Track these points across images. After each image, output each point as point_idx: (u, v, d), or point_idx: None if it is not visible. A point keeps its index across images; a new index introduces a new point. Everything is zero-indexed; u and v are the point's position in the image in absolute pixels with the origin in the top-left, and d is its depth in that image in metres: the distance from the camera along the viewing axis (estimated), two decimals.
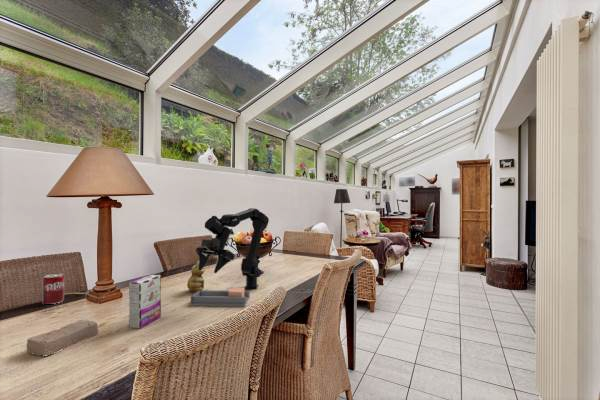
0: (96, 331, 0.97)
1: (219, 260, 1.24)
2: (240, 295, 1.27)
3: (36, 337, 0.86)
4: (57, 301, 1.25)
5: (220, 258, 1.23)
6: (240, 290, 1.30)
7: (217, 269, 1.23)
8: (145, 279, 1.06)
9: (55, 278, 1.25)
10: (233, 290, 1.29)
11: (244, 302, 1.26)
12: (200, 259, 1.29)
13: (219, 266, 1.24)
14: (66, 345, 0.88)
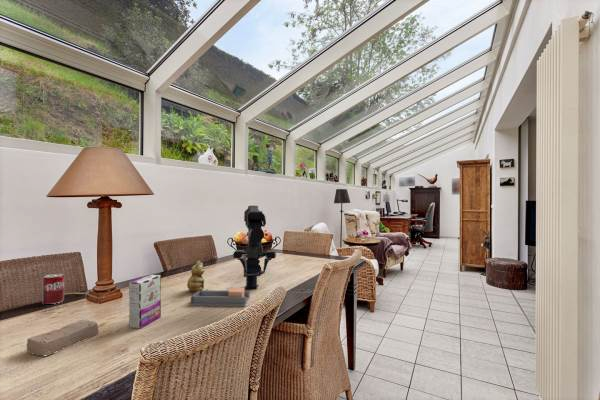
0: (96, 331, 0.97)
1: (266, 262, 1.29)
2: (240, 295, 1.27)
3: (36, 336, 0.87)
4: (57, 301, 1.25)
5: (267, 261, 1.28)
6: (240, 290, 1.30)
7: (265, 269, 1.30)
8: (145, 279, 1.06)
9: (55, 278, 1.25)
10: (233, 290, 1.29)
11: (244, 302, 1.26)
12: (243, 263, 1.29)
13: (266, 266, 1.30)
14: (66, 345, 0.88)
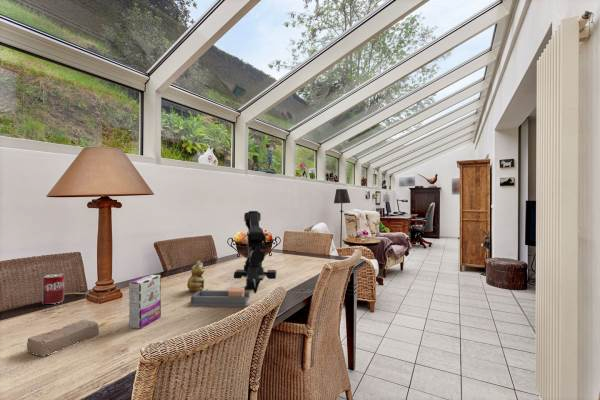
0: (97, 332, 0.97)
1: (257, 282, 1.29)
2: (240, 295, 1.27)
3: (36, 336, 0.87)
4: (57, 301, 1.25)
5: (259, 281, 1.28)
6: (240, 290, 1.30)
7: None
8: (145, 279, 1.06)
9: (55, 278, 1.25)
10: (233, 290, 1.29)
11: (244, 302, 1.26)
12: (252, 284, 1.29)
13: None
14: (65, 345, 0.88)
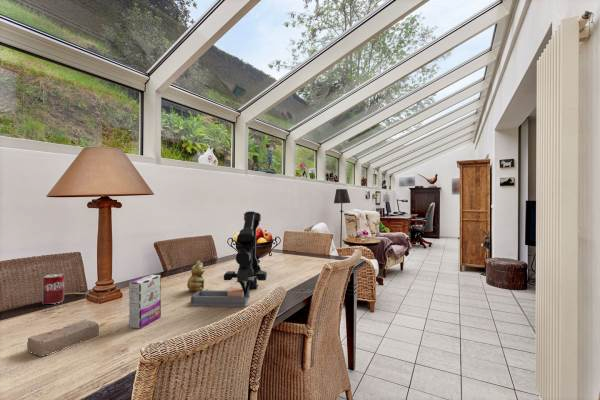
0: (97, 332, 0.97)
1: (248, 284, 1.29)
2: (239, 295, 1.27)
3: (37, 336, 0.87)
4: (57, 301, 1.25)
5: (249, 283, 1.28)
6: (239, 290, 1.30)
7: (247, 291, 1.30)
8: (145, 279, 1.06)
9: (55, 278, 1.25)
10: (232, 290, 1.29)
11: (244, 302, 1.26)
12: (242, 285, 1.29)
13: (248, 288, 1.30)
14: (64, 346, 0.88)
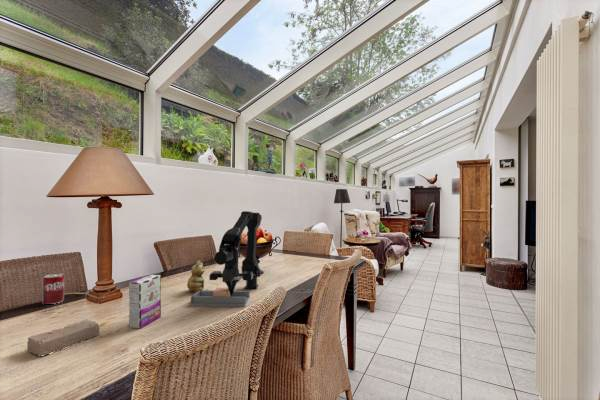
0: (97, 332, 0.96)
1: (233, 284, 1.29)
2: (225, 295, 1.27)
3: (37, 335, 0.87)
4: (57, 301, 1.25)
5: (234, 282, 1.28)
6: (225, 290, 1.30)
7: (233, 291, 1.31)
8: (145, 279, 1.06)
9: (55, 278, 1.25)
10: (218, 290, 1.29)
11: (244, 302, 1.26)
12: (228, 285, 1.29)
13: (234, 287, 1.30)
14: (63, 346, 0.88)
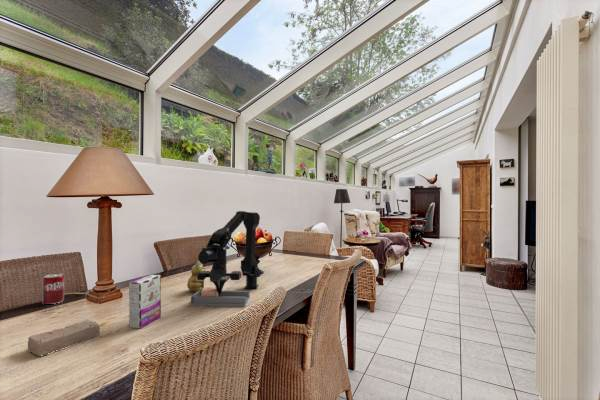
0: (97, 333, 0.96)
1: (221, 284, 1.29)
2: (213, 295, 1.28)
3: (37, 335, 0.88)
4: (57, 301, 1.25)
5: (222, 282, 1.28)
6: (213, 290, 1.30)
7: (221, 290, 1.31)
8: (145, 279, 1.06)
9: (55, 278, 1.25)
10: (206, 290, 1.29)
11: (244, 302, 1.26)
12: (216, 285, 1.29)
13: (222, 287, 1.30)
14: (63, 346, 0.88)
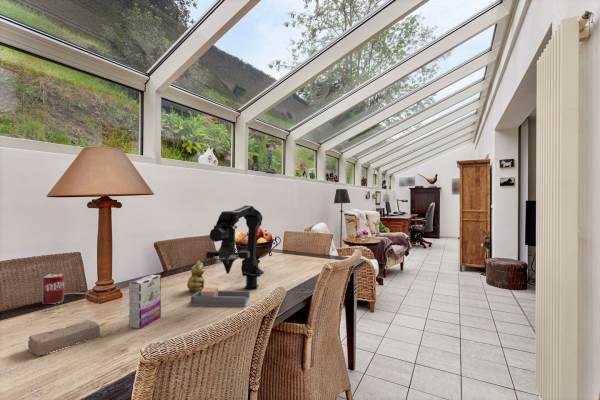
0: (97, 333, 0.96)
1: (230, 262, 1.29)
2: (212, 295, 1.28)
3: (38, 334, 0.88)
4: (57, 301, 1.25)
5: (231, 261, 1.28)
6: (213, 290, 1.30)
7: (229, 269, 1.30)
8: (145, 279, 1.06)
9: (55, 278, 1.25)
10: (206, 290, 1.29)
11: (244, 302, 1.26)
12: (225, 264, 1.29)
13: (230, 266, 1.30)
14: (62, 346, 0.87)
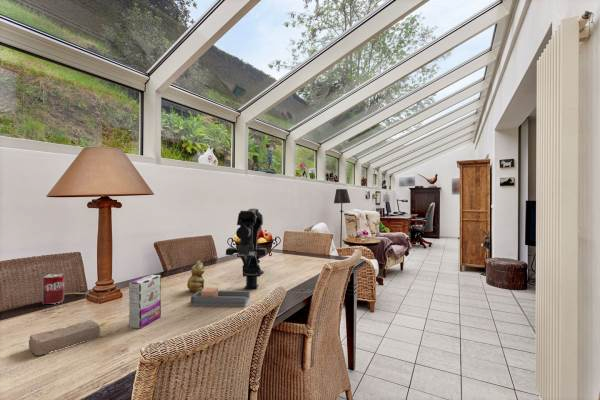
0: (97, 334, 0.95)
1: (248, 259, 1.36)
2: (212, 295, 1.28)
3: (38, 334, 0.88)
4: (57, 301, 1.25)
5: (249, 258, 1.35)
6: (213, 290, 1.30)
7: (248, 266, 1.38)
8: (145, 279, 1.06)
9: (55, 278, 1.25)
10: (206, 290, 1.29)
11: (244, 302, 1.26)
12: (243, 260, 1.36)
13: (249, 263, 1.38)
14: (61, 346, 0.87)
